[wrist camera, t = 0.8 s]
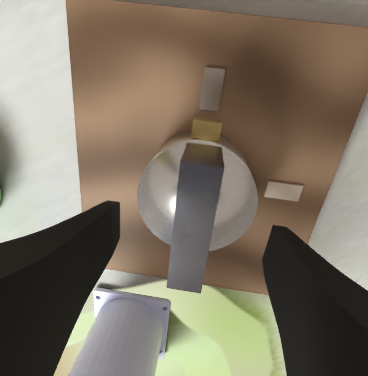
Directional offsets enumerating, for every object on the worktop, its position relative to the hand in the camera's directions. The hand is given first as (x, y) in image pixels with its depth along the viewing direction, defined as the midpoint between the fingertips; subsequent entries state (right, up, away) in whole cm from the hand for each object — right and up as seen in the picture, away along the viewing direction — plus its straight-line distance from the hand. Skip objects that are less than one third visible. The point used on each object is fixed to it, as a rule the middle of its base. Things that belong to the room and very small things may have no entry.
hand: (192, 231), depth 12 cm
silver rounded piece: (+1, +3, +6) cm, 7 cm away
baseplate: (+1, +3, +7) cm, 8 cm away
